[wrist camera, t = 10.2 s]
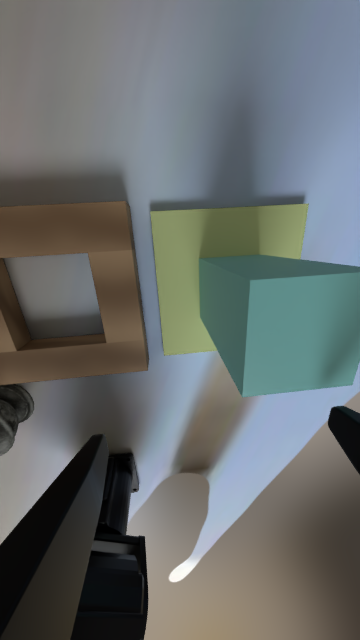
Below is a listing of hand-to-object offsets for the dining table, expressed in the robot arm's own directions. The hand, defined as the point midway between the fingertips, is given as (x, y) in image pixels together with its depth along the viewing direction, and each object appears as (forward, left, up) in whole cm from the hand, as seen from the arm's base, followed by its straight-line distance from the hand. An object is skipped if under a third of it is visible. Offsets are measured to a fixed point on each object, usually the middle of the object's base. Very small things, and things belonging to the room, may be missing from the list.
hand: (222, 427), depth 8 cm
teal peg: (+3, -4, -11) cm, 12 cm away
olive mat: (+3, -4, -12) cm, 12 cm away
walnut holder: (+3, +10, -12) cm, 16 cm away
